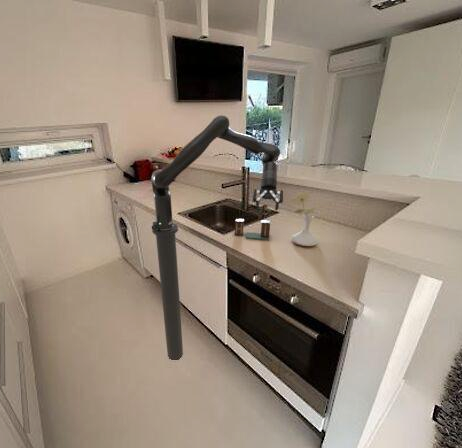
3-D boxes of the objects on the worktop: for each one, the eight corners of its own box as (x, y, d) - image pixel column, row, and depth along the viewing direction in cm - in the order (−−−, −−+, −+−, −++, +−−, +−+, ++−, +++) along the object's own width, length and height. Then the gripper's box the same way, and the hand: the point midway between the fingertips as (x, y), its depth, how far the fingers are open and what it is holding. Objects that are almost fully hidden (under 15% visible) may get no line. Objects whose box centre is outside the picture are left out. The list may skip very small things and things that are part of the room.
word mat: (245, 238, 124) (246, 237, 124) (246, 233, 129) (247, 232, 129) (268, 240, 121) (268, 239, 121) (268, 235, 126) (268, 234, 126)
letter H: (234, 235, 128) (235, 221, 125) (235, 232, 131) (236, 218, 128) (242, 236, 127) (243, 221, 124) (243, 233, 130) (243, 219, 127)
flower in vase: (314, 238, 121) (322, 189, 111) (319, 249, 110) (329, 195, 101) (286, 236, 124) (292, 188, 114) (289, 247, 114) (295, 195, 104)
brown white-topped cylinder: (260, 237, 123) (261, 222, 120) (260, 234, 126) (261, 219, 123) (268, 238, 122) (270, 223, 119) (268, 235, 125) (270, 220, 122)
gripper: (254, 176, 124) (251, 205, 118) (284, 177, 120) (283, 206, 114) (254, 184, 131) (251, 211, 125) (283, 185, 127) (281, 213, 121)
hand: (266, 209), depth 120 cm, fingers open, 8 cm apart
